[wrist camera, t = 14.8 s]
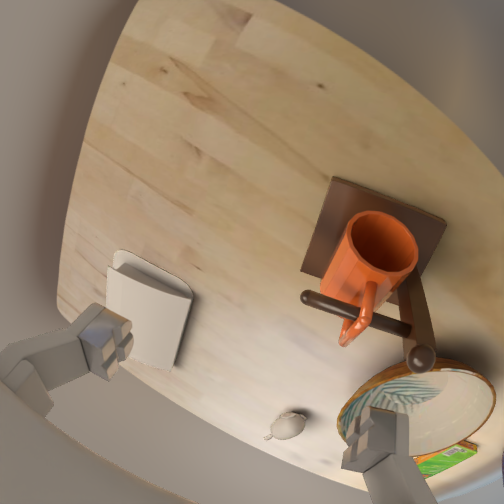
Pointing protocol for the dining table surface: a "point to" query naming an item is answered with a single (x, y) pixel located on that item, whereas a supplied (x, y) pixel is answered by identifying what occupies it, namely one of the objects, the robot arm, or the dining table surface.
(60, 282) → the dining table surface
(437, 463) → the game box
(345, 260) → the cup
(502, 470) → the planter
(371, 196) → the stand
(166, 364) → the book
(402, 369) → the bowl
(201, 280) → the dining table surface
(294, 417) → the cream rounded piece
